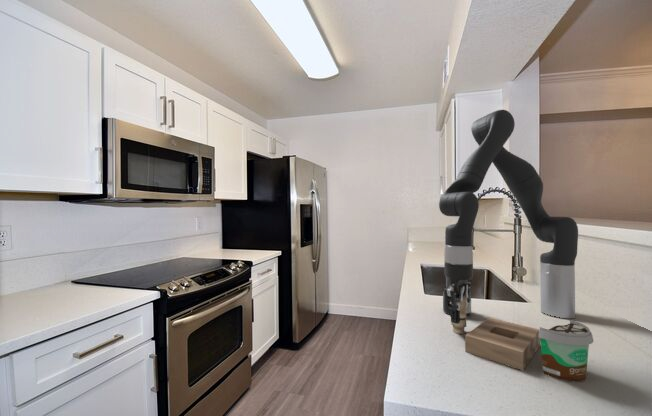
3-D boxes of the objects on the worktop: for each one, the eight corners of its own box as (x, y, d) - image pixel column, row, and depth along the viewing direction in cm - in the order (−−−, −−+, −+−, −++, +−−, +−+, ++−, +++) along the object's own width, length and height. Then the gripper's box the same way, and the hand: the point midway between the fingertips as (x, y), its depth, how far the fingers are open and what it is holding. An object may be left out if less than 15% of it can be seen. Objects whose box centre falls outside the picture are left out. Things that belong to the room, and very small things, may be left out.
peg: (454, 327, 86) (454, 294, 86) (468, 332, 83) (468, 297, 83) (448, 331, 83) (448, 296, 83) (463, 336, 80) (463, 299, 80)
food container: (573, 391, 55) (572, 339, 56) (538, 374, 61) (538, 327, 61) (606, 377, 60) (606, 328, 60) (572, 363, 66) (571, 319, 66)
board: (489, 331, 83) (489, 317, 84) (540, 345, 75) (540, 329, 75) (465, 351, 71) (465, 335, 71) (522, 370, 62) (522, 352, 62)
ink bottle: (474, 319, 93) (474, 281, 94) (445, 316, 95) (445, 280, 96) (467, 309, 103) (467, 275, 103) (441, 307, 105) (441, 274, 105)
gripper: (455, 257, 91) (455, 311, 91) (434, 262, 81) (434, 323, 81) (481, 260, 86) (481, 318, 85) (461, 265, 76) (462, 331, 75)
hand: (458, 320), depth 83 cm, fingers closed on peg, 4 cm apart
